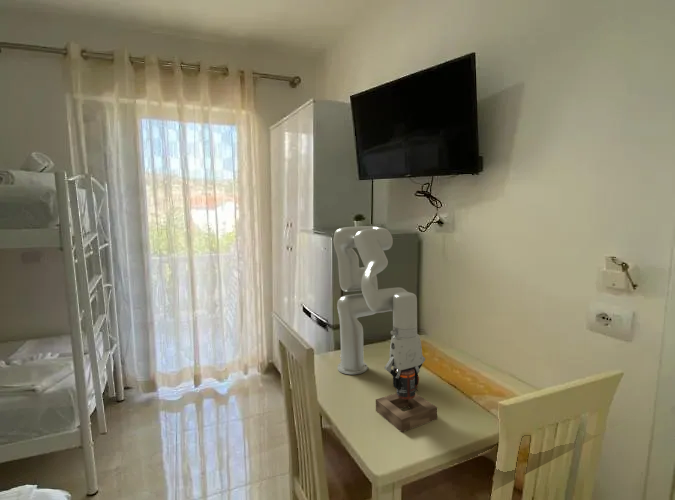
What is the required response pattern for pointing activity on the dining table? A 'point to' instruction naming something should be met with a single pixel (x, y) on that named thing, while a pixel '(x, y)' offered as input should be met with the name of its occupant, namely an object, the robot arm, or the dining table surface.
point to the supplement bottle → (407, 384)
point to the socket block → (408, 419)
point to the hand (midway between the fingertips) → (405, 385)
